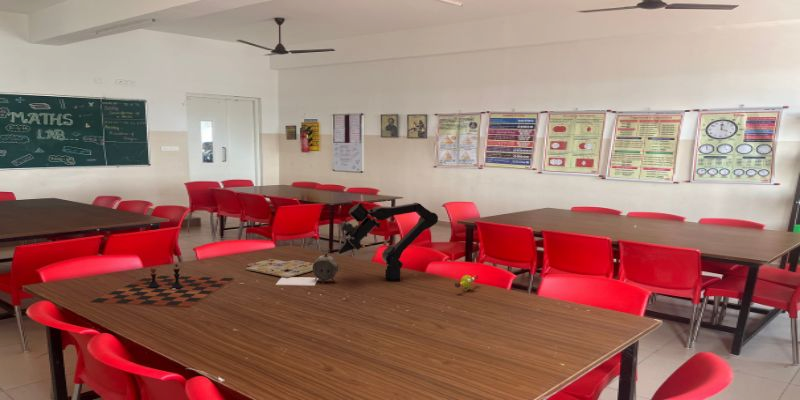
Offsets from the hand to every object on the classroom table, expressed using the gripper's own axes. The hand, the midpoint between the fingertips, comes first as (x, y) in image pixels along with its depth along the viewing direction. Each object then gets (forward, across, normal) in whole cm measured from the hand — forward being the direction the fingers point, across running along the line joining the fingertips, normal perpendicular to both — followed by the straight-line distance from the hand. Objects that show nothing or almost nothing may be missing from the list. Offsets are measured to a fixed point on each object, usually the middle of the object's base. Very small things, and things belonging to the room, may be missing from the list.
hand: (338, 253), depth 228 cm
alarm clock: (+14, -1, +5) cm, 15 cm away
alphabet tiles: (+27, -30, -8) cm, 41 cm away
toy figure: (-29, +21, +47) cm, 59 cm away
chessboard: (+61, +1, -39) cm, 73 cm away
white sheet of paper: (+22, -4, -3) cm, 23 cm away
